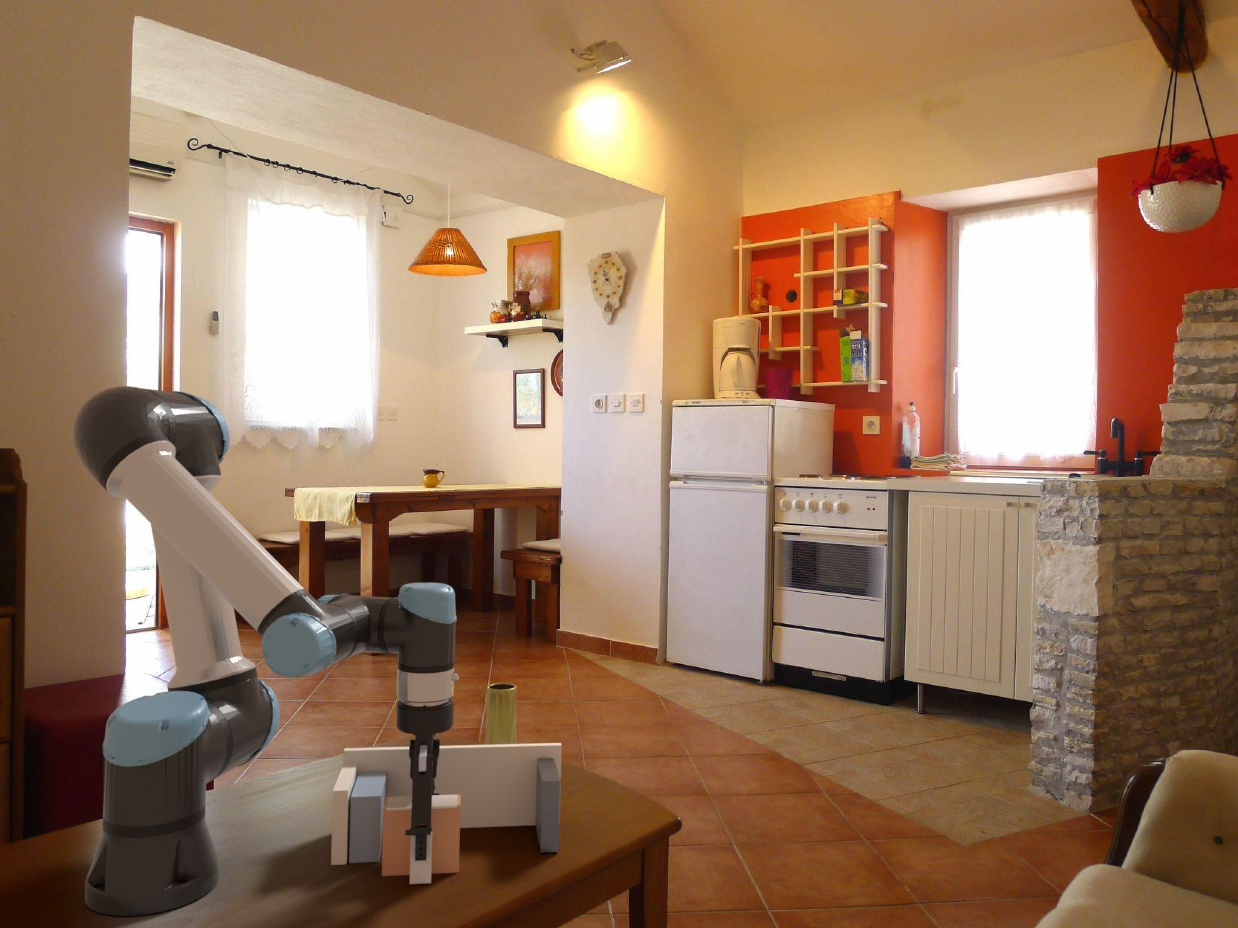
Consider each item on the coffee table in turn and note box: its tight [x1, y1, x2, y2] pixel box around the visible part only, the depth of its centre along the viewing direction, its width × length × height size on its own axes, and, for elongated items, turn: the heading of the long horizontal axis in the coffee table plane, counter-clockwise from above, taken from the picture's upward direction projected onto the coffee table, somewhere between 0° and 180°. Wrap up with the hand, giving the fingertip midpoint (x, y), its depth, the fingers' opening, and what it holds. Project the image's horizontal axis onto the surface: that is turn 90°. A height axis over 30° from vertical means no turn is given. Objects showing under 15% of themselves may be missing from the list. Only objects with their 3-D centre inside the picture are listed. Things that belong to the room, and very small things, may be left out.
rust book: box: [381, 795, 461, 877], centre depth 125 cm, size 4×10×9 cm, turn 99°
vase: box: [484, 682, 518, 745], centre depth 167 cm, size 6×6×14 cm
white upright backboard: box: [330, 742, 563, 866], centre depth 134 cm, size 32×12×12 cm, turn 99°
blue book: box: [348, 772, 387, 864], centre depth 131 cm, size 4×10×9 cm, turn 9°
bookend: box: [535, 758, 561, 853], centre depth 135 cm, size 2×10×10 cm, turn 9°
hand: (422, 865), depth 125 cm, fingers open, 9 cm apart
